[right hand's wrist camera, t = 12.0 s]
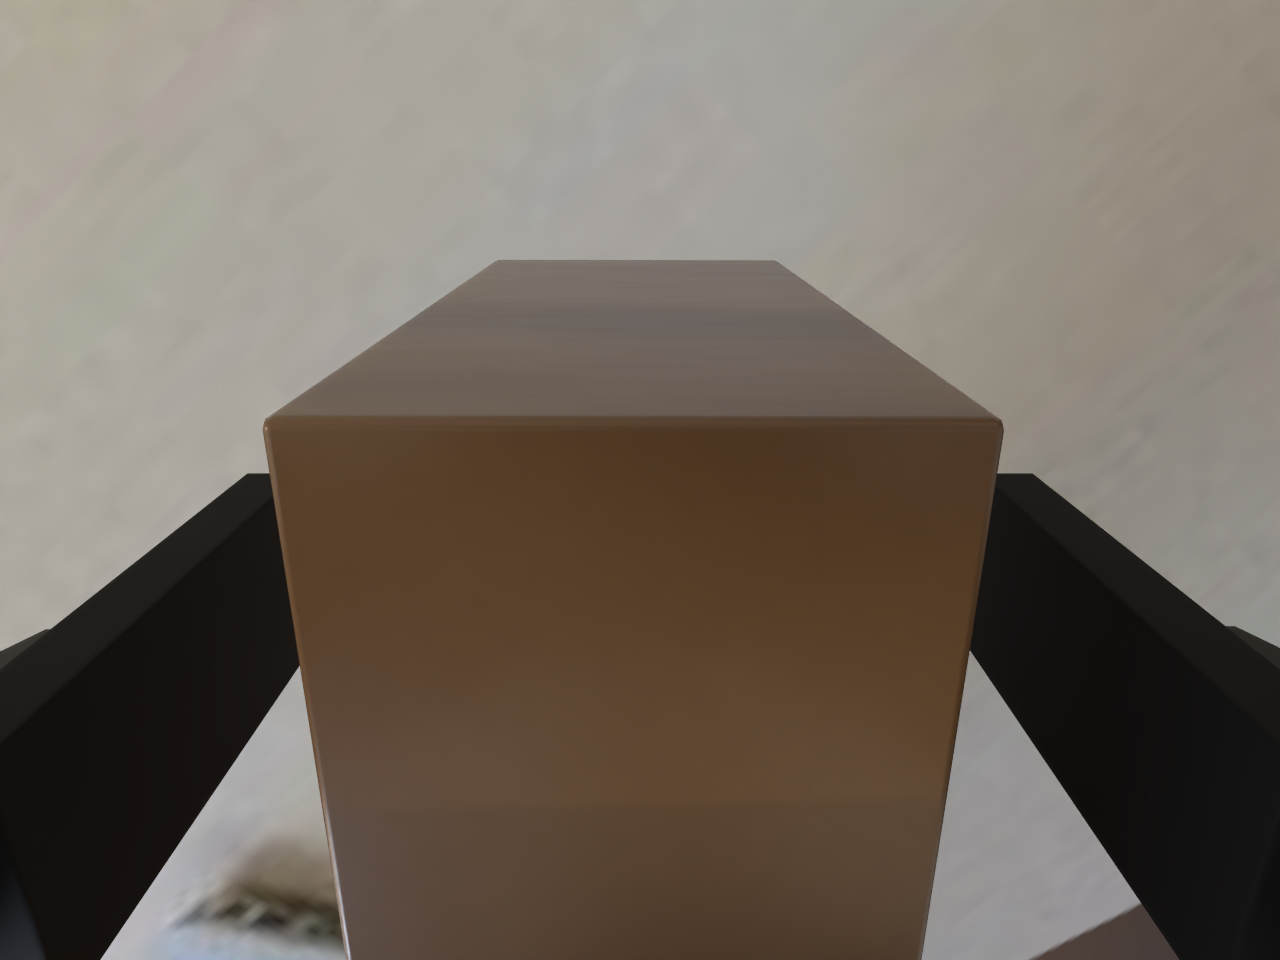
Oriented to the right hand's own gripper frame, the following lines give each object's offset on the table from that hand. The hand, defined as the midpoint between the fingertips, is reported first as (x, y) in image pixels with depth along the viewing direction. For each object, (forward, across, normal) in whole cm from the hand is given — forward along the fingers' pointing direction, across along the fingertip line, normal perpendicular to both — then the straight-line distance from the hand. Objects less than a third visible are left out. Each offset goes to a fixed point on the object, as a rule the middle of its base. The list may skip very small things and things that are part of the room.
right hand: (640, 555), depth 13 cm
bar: (+2, 0, -7) cm, 7 cm away
